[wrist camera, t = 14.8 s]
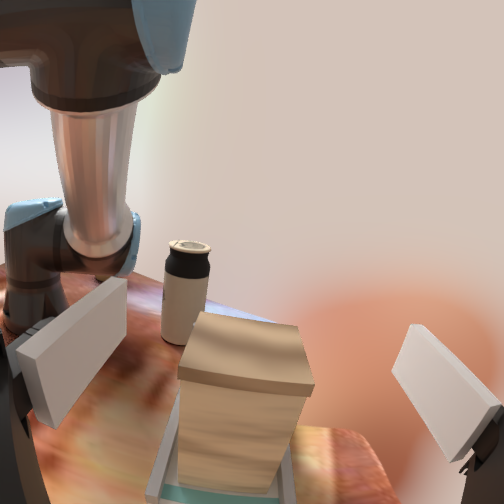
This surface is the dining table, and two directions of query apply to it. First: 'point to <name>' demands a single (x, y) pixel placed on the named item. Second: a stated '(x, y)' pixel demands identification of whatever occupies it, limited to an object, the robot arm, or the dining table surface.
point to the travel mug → (184, 289)
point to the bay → (200, 498)
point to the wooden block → (239, 401)
